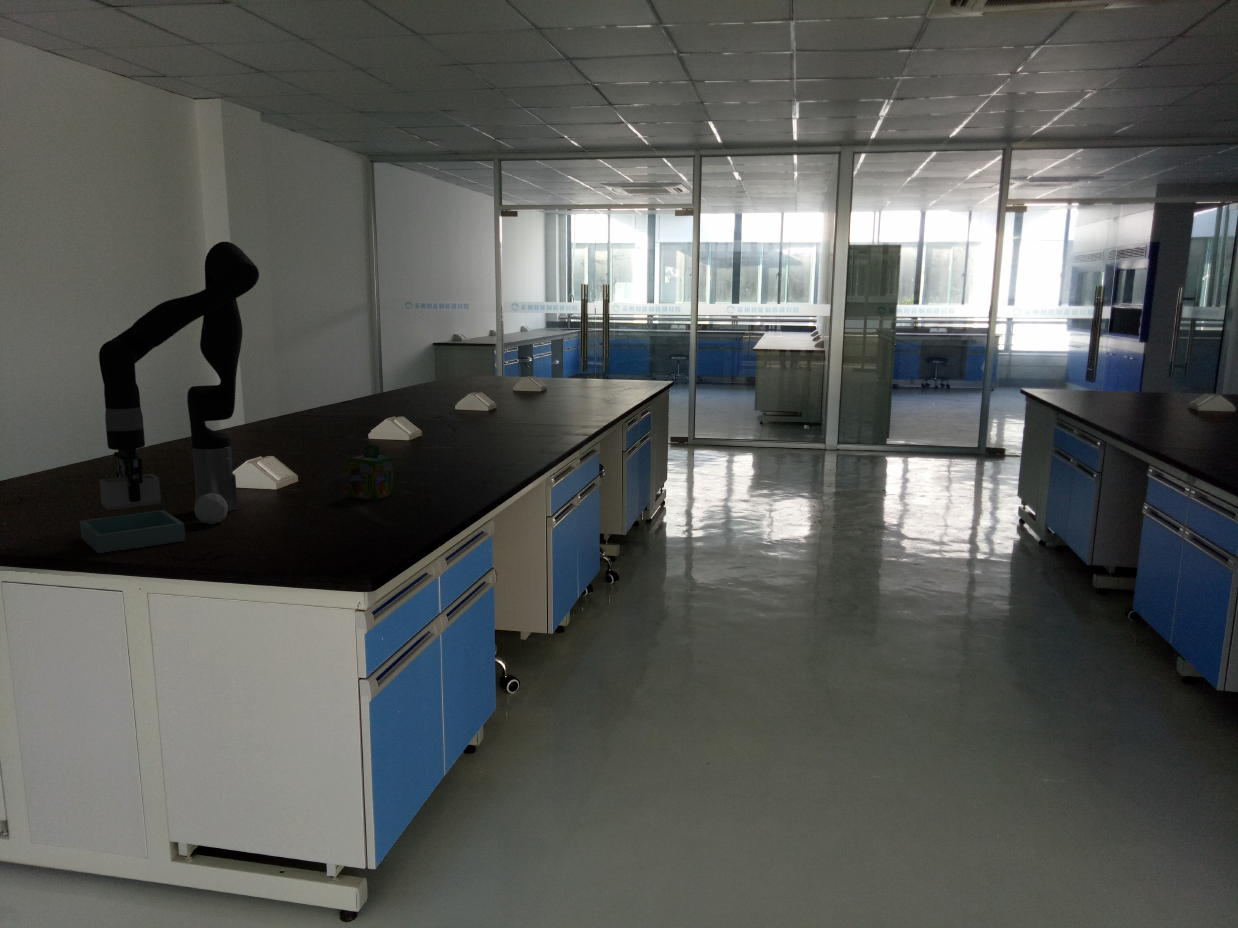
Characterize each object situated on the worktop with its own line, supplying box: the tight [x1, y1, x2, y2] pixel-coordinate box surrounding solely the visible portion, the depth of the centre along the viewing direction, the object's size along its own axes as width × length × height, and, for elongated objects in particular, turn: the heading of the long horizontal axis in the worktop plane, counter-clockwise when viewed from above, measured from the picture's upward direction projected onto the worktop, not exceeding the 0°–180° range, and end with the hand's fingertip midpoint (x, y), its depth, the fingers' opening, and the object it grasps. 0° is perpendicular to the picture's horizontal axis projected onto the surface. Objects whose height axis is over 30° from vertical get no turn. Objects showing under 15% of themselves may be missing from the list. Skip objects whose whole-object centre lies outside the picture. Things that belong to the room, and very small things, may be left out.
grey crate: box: [98, 473, 162, 511], centre depth 205 cm, size 11×6×6 cm, turn 132°
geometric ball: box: [193, 493, 228, 525], centre depth 223 cm, size 8×8×8 cm
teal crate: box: [79, 509, 186, 554], centre depth 207 cm, size 18×17×4 cm
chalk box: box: [347, 444, 394, 502], centre depth 254 cm, size 9×9×15 cm
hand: (131, 498), depth 206 cm, fingers closed on grey crate, 6 cm apart
